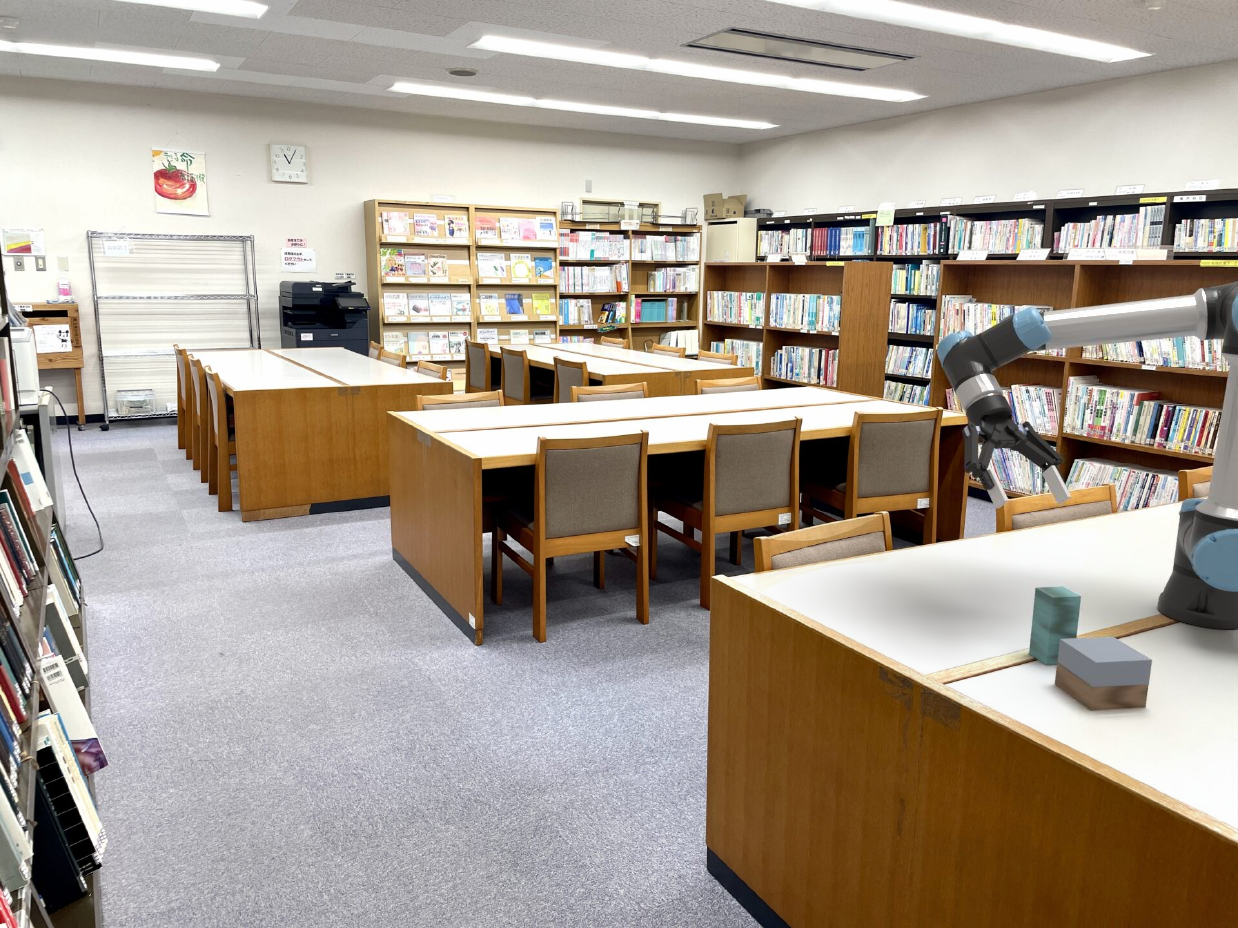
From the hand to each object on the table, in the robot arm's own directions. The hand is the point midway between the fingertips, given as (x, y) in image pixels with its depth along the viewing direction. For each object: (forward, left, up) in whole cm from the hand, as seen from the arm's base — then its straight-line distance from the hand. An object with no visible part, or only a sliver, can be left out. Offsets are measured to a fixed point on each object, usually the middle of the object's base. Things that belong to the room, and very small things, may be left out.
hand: (1033, 502), depth 154 cm
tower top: (0, +22, -22) cm, 31 cm away
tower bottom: (0, +22, -26) cm, 34 cm away
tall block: (-1, +8, -25) cm, 27 cm away
